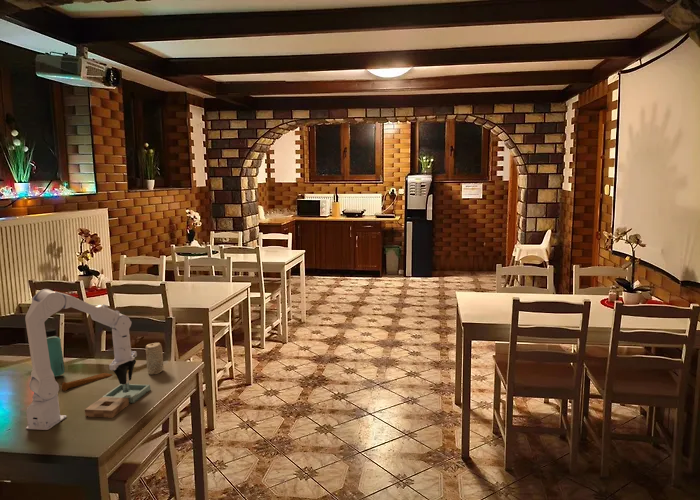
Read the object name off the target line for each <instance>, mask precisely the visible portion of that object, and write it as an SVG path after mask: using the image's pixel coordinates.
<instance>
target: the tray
mask: <svg viewBox="0 0 700 500" xmlns="http://www.w3.org/2000/svg"><path fill="white" fill-rule="evenodd" d="M129 388H130V391H129V392H126V393H123V390H122V384H120V383H119V384H118V385H117V386H115V387H114V388H113V389H110V391H108V392H107V393H105V394H104V395H103V396H102V397H115V398H129V404H132V403H133V404H135V403H136V402H137V401H139V400H140V399H141V398H142V397H143V396H145V395H146V394H147V393H149V392H150V391H151V385H150V384H139V383H138V384H137V383H134V384H133V383H129Z"/></svg>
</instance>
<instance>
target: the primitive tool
mask: <svg viewBox="0 0 700 500" xmlns="http://www.w3.org/2000/svg"><path fill="white" fill-rule="evenodd" d="M112 376H113V373H107V372H102V373H98V374H94V375H91V376H88V377H84V378H80V379H76V380H72V381H67V382H65V381H63V382H62V384H61V389H62V391H68V390H70V389H72V388H76V387H80V386H82V385H85V384H89V383H92V382H96V381H99V380H100V381H101V380H103V379H107V378H111V377H112Z"/></svg>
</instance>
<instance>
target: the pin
mask: <svg viewBox="0 0 700 500" xmlns="http://www.w3.org/2000/svg"><path fill="white" fill-rule="evenodd" d="M128 372H129V369H127V375H126V377H127V381H126V384H122V390H123V393H126V392H129V391H130V388H129V384H130V380H129V374H128Z"/></svg>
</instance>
